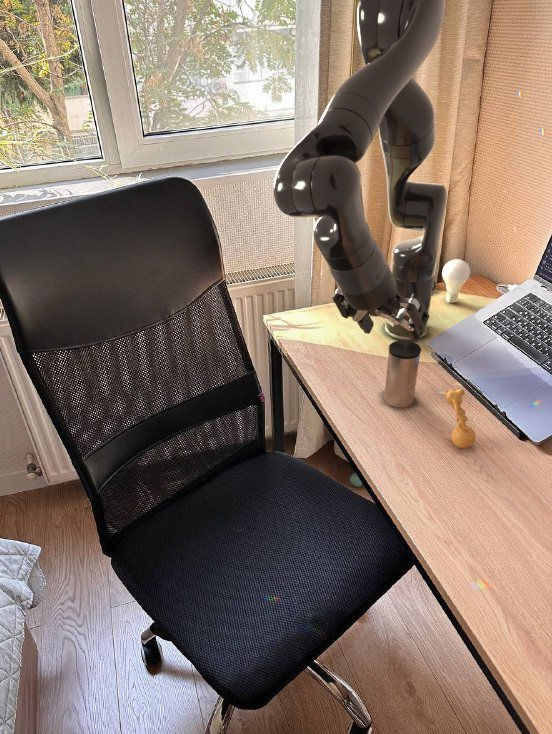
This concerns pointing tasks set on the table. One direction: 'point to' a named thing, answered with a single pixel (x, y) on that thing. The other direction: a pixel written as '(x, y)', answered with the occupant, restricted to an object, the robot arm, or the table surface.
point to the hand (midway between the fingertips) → (392, 333)
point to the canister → (402, 373)
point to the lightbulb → (455, 277)
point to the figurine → (462, 433)
